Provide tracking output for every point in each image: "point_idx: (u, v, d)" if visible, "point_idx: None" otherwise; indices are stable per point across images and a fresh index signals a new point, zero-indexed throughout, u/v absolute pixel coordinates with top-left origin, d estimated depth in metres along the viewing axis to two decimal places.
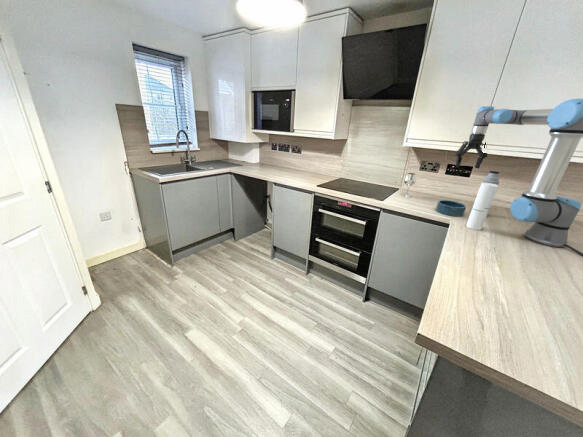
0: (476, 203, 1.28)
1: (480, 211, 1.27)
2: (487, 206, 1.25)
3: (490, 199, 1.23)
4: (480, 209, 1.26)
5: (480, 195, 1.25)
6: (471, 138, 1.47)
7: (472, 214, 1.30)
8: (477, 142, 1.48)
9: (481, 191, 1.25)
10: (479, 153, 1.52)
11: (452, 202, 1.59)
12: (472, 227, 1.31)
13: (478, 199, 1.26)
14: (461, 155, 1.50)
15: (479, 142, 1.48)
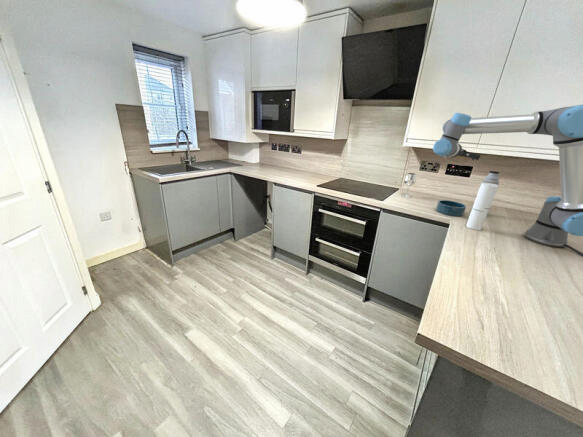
0: (476, 203, 1.28)
1: (480, 211, 1.27)
2: (487, 206, 1.25)
3: (490, 199, 1.23)
4: (480, 209, 1.26)
5: (480, 195, 1.25)
6: (460, 151, 1.20)
7: (472, 214, 1.30)
8: None
9: (481, 191, 1.25)
10: None
11: (452, 202, 1.59)
12: (472, 227, 1.31)
13: (478, 199, 1.26)
14: None
15: None
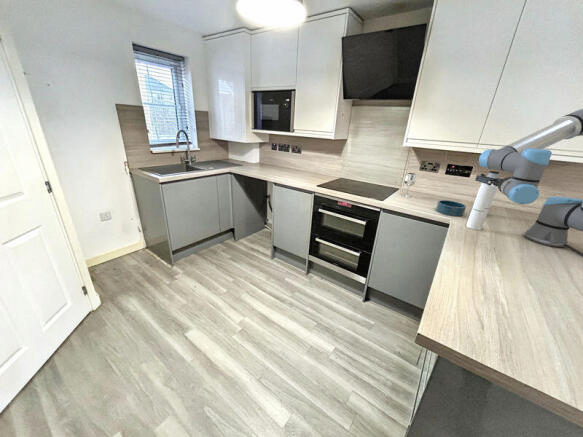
0: (476, 203, 1.28)
1: (480, 211, 1.27)
2: (487, 206, 1.25)
3: (490, 199, 1.23)
4: (480, 209, 1.26)
5: (480, 195, 1.25)
6: None
7: (472, 214, 1.30)
8: None
9: (481, 191, 1.25)
10: None
11: (452, 202, 1.59)
12: (472, 227, 1.31)
13: (478, 199, 1.26)
14: None
15: None
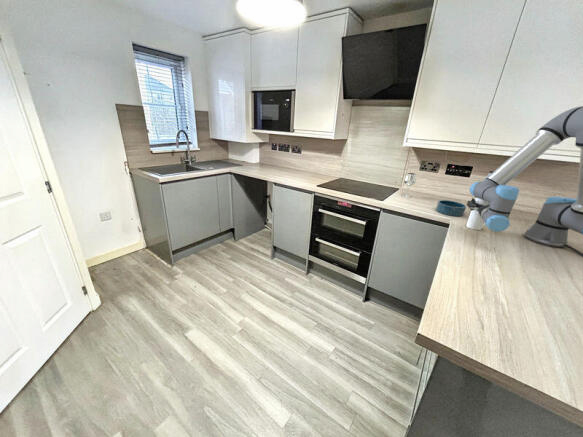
0: None
1: None
2: None
3: None
4: None
5: None
6: None
7: (472, 214, 1.30)
8: None
9: None
10: None
11: (452, 202, 1.59)
12: (472, 227, 1.31)
13: (478, 199, 1.26)
14: None
15: None
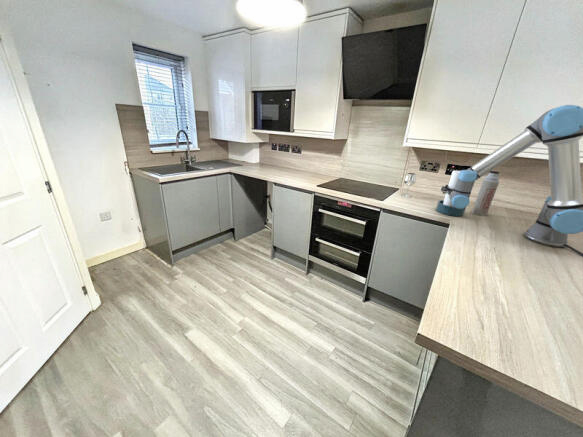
0: None
1: None
2: None
3: None
4: None
5: (451, 181, 1.47)
6: None
7: (446, 198, 1.51)
8: None
9: (452, 178, 1.46)
10: None
11: None
12: None
13: (450, 185, 1.48)
14: None
15: None
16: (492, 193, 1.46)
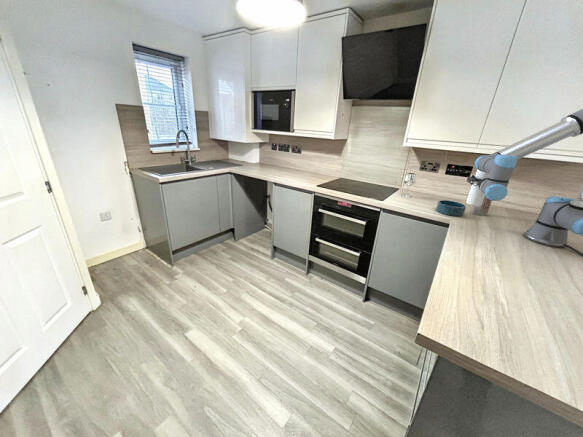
0: None
1: None
2: None
3: None
4: None
5: (479, 170, 1.27)
6: None
7: (472, 190, 1.32)
8: None
9: None
10: None
11: (452, 202, 1.59)
12: (472, 203, 1.32)
13: (478, 174, 1.28)
14: None
15: None
16: None
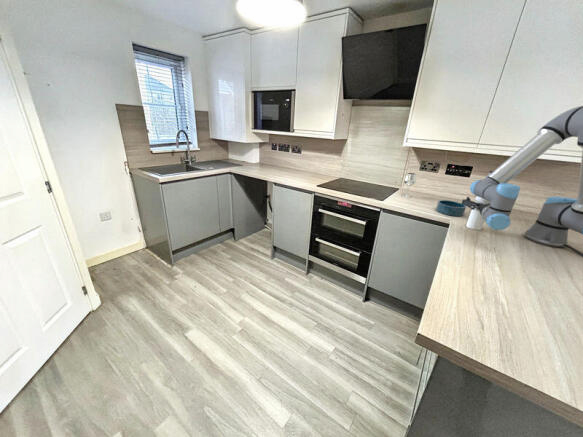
0: None
1: None
2: None
3: None
4: None
5: None
6: None
7: (472, 214, 1.30)
8: None
9: None
10: None
11: (452, 202, 1.59)
12: (472, 227, 1.31)
13: (478, 199, 1.26)
14: None
15: None
16: None
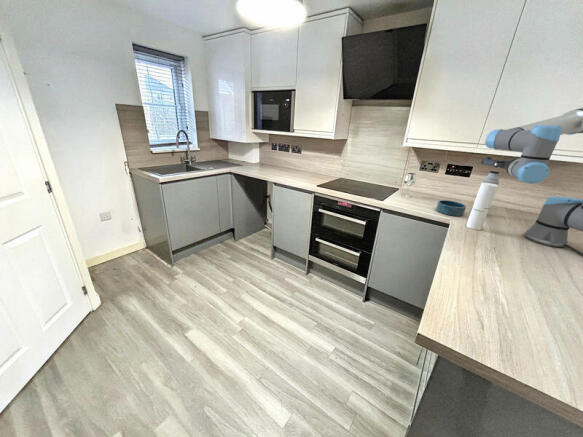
0: (476, 203, 1.28)
1: (480, 211, 1.27)
2: (487, 206, 1.25)
3: (490, 199, 1.23)
4: (480, 209, 1.26)
5: (480, 195, 1.25)
6: None
7: (472, 214, 1.30)
8: None
9: (481, 191, 1.25)
10: None
11: (452, 202, 1.59)
12: (472, 227, 1.31)
13: (478, 199, 1.26)
14: None
15: None
16: None
